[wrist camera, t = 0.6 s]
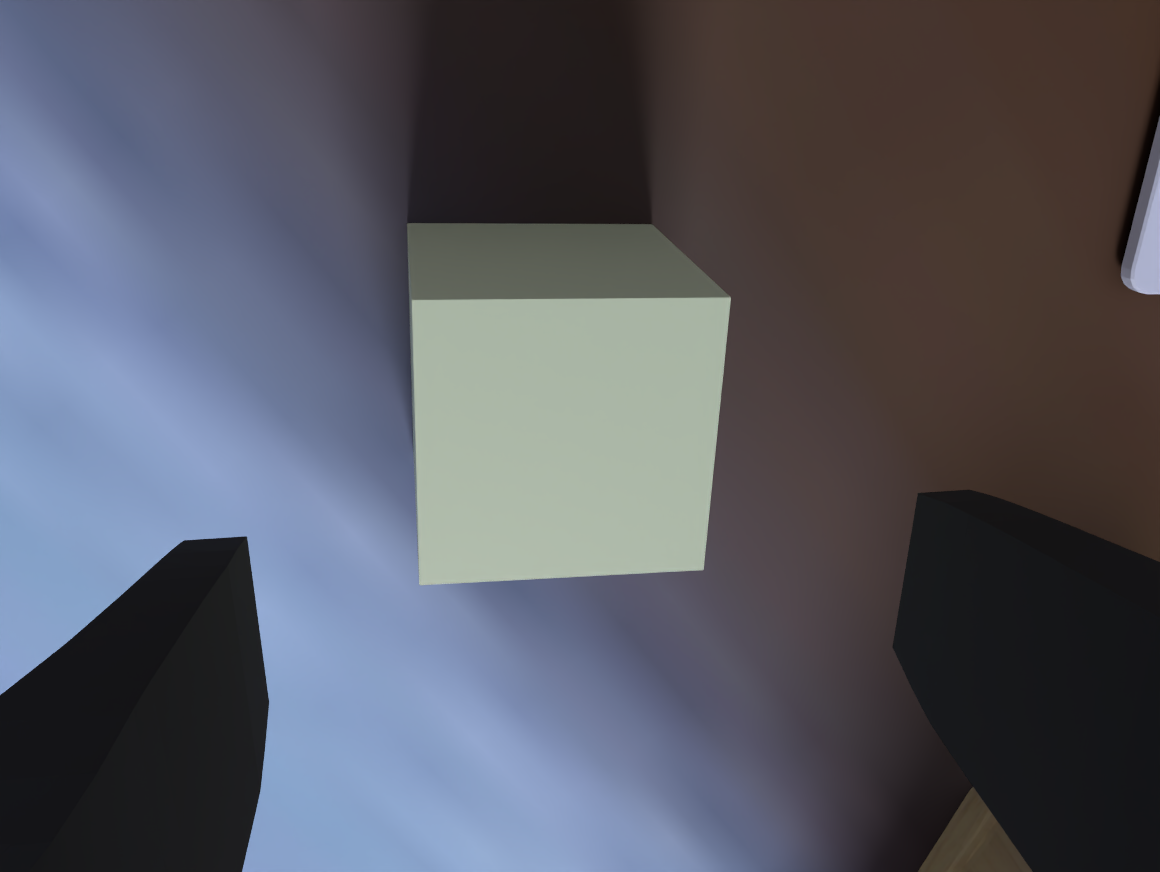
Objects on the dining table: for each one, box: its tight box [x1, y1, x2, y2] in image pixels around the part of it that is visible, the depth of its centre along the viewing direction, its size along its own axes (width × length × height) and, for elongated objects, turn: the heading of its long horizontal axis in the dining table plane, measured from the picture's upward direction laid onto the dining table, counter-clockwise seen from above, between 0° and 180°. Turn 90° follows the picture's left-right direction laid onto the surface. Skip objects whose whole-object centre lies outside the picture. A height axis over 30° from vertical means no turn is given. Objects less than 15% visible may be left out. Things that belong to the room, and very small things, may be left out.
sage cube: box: [407, 223, 731, 585], centre depth 17 cm, size 4×4×5 cm
